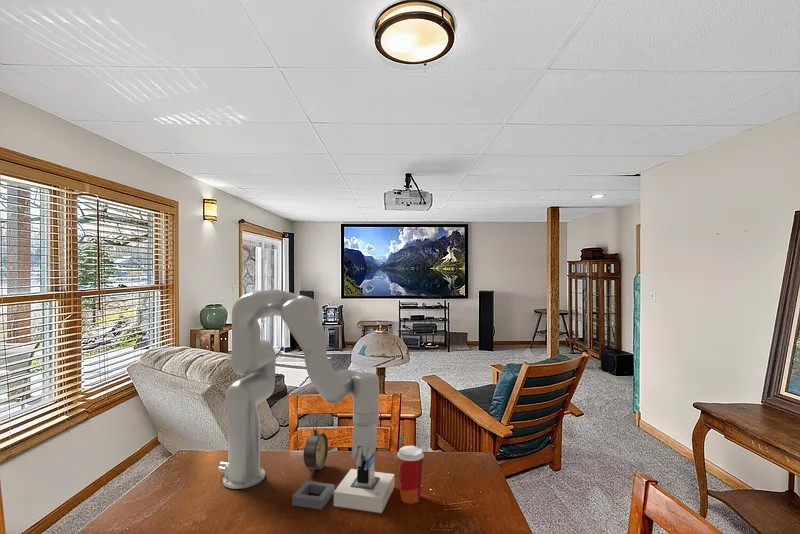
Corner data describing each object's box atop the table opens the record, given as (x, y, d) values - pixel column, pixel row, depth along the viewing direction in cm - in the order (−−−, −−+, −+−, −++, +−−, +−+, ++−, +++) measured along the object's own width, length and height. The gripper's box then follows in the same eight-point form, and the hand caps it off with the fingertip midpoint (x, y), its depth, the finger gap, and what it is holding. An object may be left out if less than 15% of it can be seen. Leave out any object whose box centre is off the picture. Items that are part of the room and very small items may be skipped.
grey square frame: (292, 505, 119) (292, 496, 119) (306, 488, 128) (306, 480, 128) (321, 509, 117) (321, 500, 117) (334, 492, 125) (334, 484, 125)
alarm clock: (316, 479, 133) (316, 427, 133) (300, 477, 135) (300, 426, 135) (328, 463, 144) (329, 416, 144) (313, 462, 145) (314, 414, 145)
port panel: (333, 505, 119) (333, 489, 119) (350, 481, 132) (351, 467, 132) (381, 513, 115) (381, 496, 115) (394, 487, 129) (394, 472, 129)
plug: (357, 494, 122) (356, 459, 122) (362, 487, 126) (360, 453, 126) (371, 495, 121) (370, 460, 121) (375, 488, 125) (374, 454, 125)
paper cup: (410, 488, 128) (410, 442, 128) (429, 498, 123) (429, 450, 123) (391, 498, 123) (391, 450, 123) (410, 509, 117) (410, 458, 117)
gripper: (362, 406, 133) (362, 464, 133) (343, 425, 117) (342, 491, 117) (385, 408, 131) (385, 467, 131) (369, 428, 115) (368, 495, 115)
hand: (365, 478), depth 124 cm, fingers closed on plug, 3 cm apart
